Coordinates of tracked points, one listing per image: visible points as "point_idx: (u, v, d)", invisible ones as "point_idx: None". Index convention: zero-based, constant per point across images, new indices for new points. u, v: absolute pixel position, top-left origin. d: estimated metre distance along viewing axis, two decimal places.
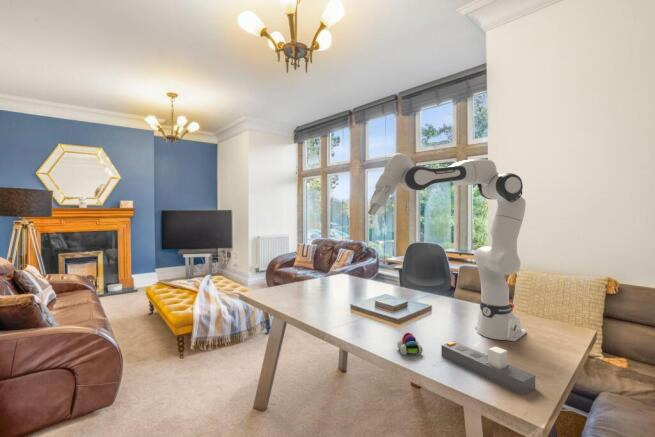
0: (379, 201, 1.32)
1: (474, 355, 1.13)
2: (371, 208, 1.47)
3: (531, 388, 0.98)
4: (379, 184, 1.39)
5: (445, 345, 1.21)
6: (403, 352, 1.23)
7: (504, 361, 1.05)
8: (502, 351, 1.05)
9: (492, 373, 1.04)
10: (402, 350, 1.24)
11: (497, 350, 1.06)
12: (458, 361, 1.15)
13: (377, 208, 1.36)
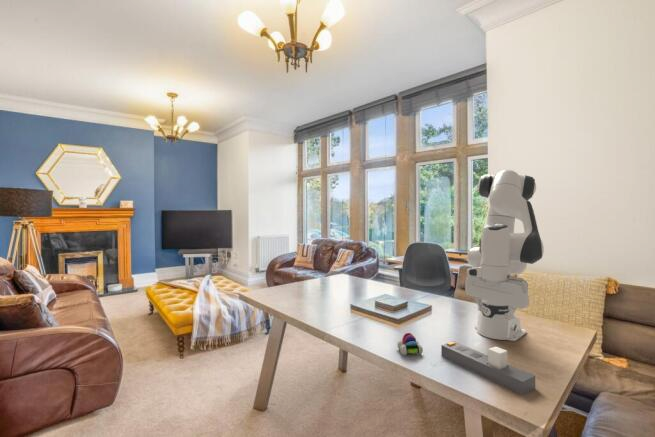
0: (524, 306, 0.97)
1: (474, 355, 1.13)
2: (479, 302, 1.10)
3: (531, 388, 0.98)
4: (497, 278, 1.01)
5: (445, 345, 1.21)
6: (403, 352, 1.23)
7: (504, 361, 1.05)
8: (502, 351, 1.05)
9: (492, 373, 1.04)
10: (402, 350, 1.24)
11: (497, 350, 1.06)
12: (458, 361, 1.15)
13: (514, 310, 1.00)
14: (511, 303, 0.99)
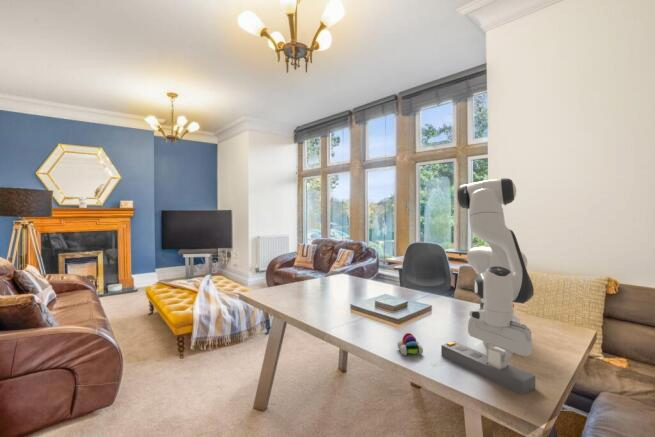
0: (527, 354, 0.97)
1: (474, 355, 1.13)
2: (487, 346, 1.09)
3: (531, 388, 0.98)
4: (500, 324, 1.02)
5: (445, 345, 1.21)
6: (403, 352, 1.23)
7: None
8: (502, 351, 1.05)
9: (492, 373, 1.04)
10: (402, 350, 1.23)
11: (497, 350, 1.06)
12: (458, 361, 1.15)
13: (511, 354, 1.02)
14: (514, 350, 0.99)
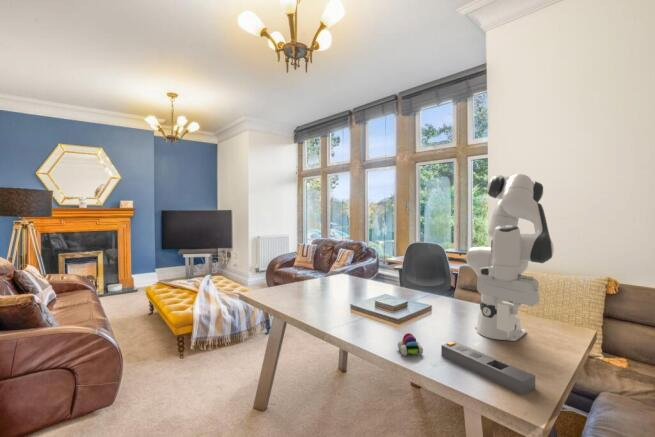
0: (535, 303, 1.02)
1: (474, 355, 1.13)
2: (496, 301, 1.14)
3: (531, 388, 0.98)
4: (508, 277, 1.07)
5: (445, 345, 1.21)
6: (403, 353, 1.23)
7: (512, 314, 1.10)
8: (510, 304, 1.10)
9: (492, 373, 1.04)
10: (402, 351, 1.23)
11: (505, 303, 1.11)
12: (458, 361, 1.15)
13: (519, 306, 1.08)
14: (522, 301, 1.05)
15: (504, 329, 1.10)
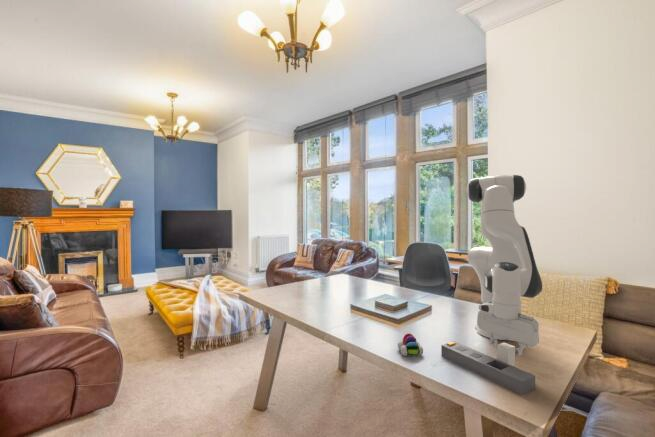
0: (535, 344, 1.03)
1: (474, 355, 1.13)
2: (492, 336, 1.16)
3: (531, 388, 0.98)
4: (508, 316, 1.07)
5: (445, 345, 1.21)
6: (403, 353, 1.23)
7: (512, 356, 1.10)
8: (510, 347, 1.11)
9: (492, 373, 1.04)
10: (402, 351, 1.23)
11: (505, 345, 1.11)
12: (458, 361, 1.15)
13: (524, 346, 1.07)
14: (522, 340, 1.05)
15: None
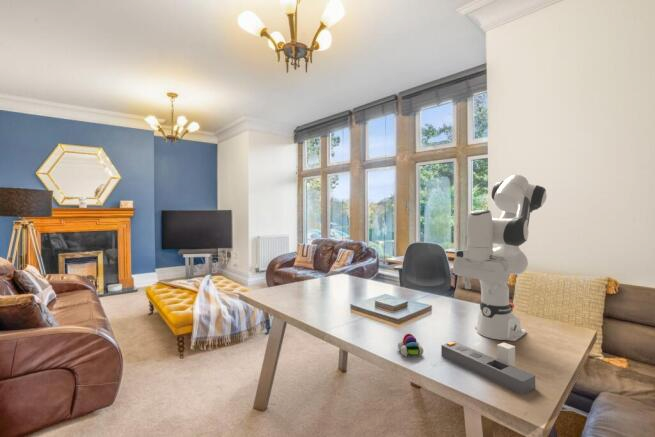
0: (504, 281, 1.09)
1: (474, 355, 1.13)
2: (466, 281, 1.23)
3: (531, 388, 0.98)
4: (481, 258, 1.14)
5: (445, 345, 1.21)
6: (404, 353, 1.23)
7: (512, 356, 1.10)
8: (510, 347, 1.11)
9: (492, 373, 1.04)
10: (403, 351, 1.23)
11: (505, 345, 1.11)
12: (458, 361, 1.15)
13: (496, 286, 1.13)
14: (493, 279, 1.12)
15: None
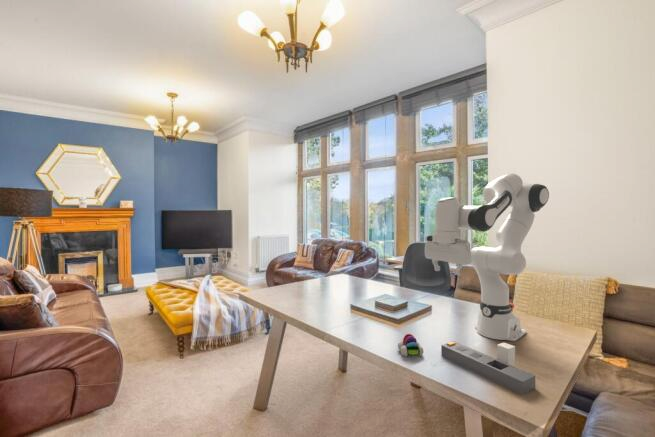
0: (467, 262, 1.19)
1: (474, 355, 1.13)
2: (435, 263, 1.33)
3: (531, 388, 0.98)
4: (447, 241, 1.24)
5: (445, 345, 1.21)
6: (404, 353, 1.22)
7: (512, 356, 1.10)
8: (510, 347, 1.11)
9: (492, 373, 1.04)
10: (403, 351, 1.23)
11: (505, 345, 1.11)
12: (458, 361, 1.15)
13: (460, 267, 1.23)
14: (457, 261, 1.21)
15: None
